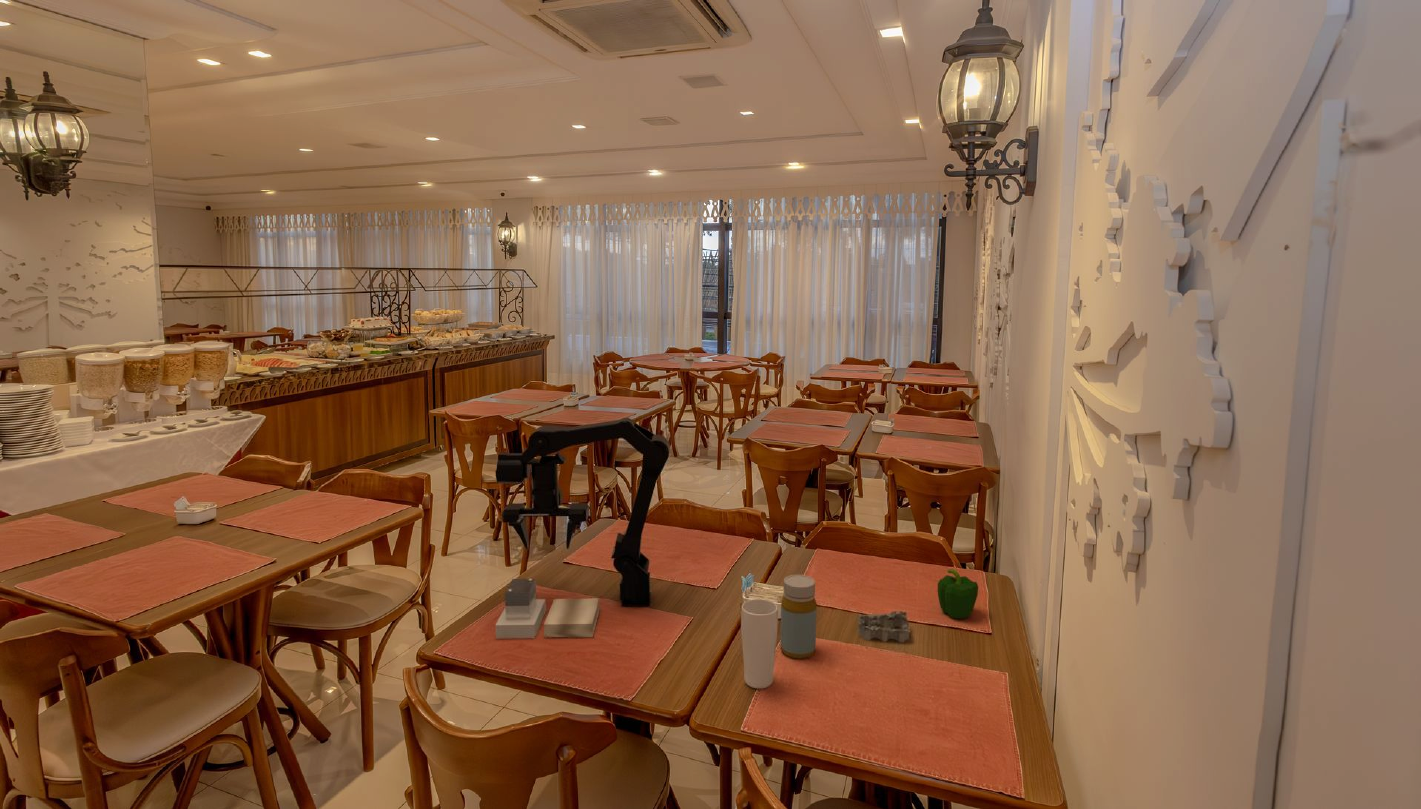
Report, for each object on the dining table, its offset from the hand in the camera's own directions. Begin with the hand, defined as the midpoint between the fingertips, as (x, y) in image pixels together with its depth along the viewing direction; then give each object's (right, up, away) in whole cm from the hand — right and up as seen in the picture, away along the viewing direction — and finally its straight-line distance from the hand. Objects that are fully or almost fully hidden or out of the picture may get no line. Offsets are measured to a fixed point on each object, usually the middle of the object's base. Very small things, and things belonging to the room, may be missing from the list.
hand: (547, 548), depth 165 cm
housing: (-3, -12, -9) cm, 15 cm away
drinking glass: (+46, -19, -31) cm, 59 cm away
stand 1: (-4, -15, -9) cm, 17 cm away
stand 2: (+7, -15, -8) cm, 18 cm away
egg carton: (+74, -16, -12) cm, 76 cm away
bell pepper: (+92, -14, -4) cm, 93 cm away
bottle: (+55, -17, -20) cm, 61 cm away
